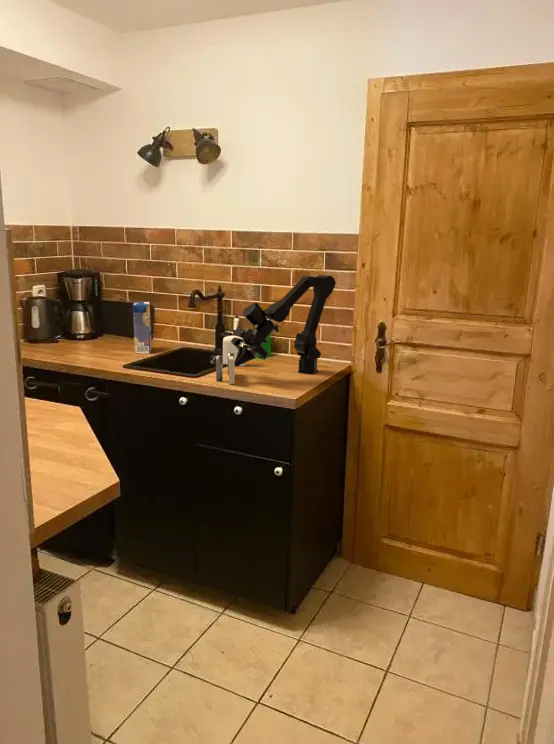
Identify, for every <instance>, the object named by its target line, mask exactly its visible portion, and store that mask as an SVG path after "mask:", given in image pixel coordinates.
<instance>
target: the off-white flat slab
mask: <svg viewBox="0 0 554 744" xmlns="http://www.w3.org/2000/svg"><path fill="white" fill-rule="evenodd" d="M235 367H236V366H235V359H234V358H233V356H229V375H228V384H229V385H235V382H236V380H235V379H236V378H235V377H236V376H235V373H236V371H235Z"/></svg>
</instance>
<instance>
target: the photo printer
mask: <svg viewBox="0 0 554 744" xmlns="http://www.w3.org/2000/svg"><path fill="white" fill-rule="evenodd" d="M235 337H237V338H240V339H242V338H241V337H238V336H235V335H228V336H227V335H226V336H225V337H223V339H222V357H223V365H225V364H226V365H227V366H228V353H234V359H236V357H237V354H238V349H237V348H236V347H235V346H234V345H233V344H232V343H231V340H232V339H233V338H235ZM246 366H247V362H245V363H243V364H241V365H239V366H238V367H246Z"/></svg>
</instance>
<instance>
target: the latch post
mask: <svg viewBox="0 0 554 744" xmlns="http://www.w3.org/2000/svg"><path fill="white" fill-rule="evenodd" d="M223 365H224V364H223V355H215V368H216V369H215V380H216V382H223V381H224V379H223V377H224V375H223V374H224V373H223Z"/></svg>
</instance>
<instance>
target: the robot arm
mask: <svg viewBox="0 0 554 744" xmlns="http://www.w3.org/2000/svg"><path fill="white" fill-rule="evenodd" d="M336 283H337V282H336V279H335V278H334V276H332V275H328V274H318V275H317V276H311V275H302V276H301V277H300V280H298V281H297V282H296V283H295V285H294V286H293V287H292V288H291V289H290V290H289V291H288V292H287V293H285V295H284V296H283V297H281V299H280V300H277V301H275V302H274V303H272V304H271V305H270V306H267V308H265V309H263V308H262V307H261V306H260V304H259V303H257V302H255V301H254V302H253V303H252V304H250V305H248V306H247V307H245V308H244V309H243V311H242V316H243V317H244V318H245V319H246V320H247V321H248V323H250V325H252V326H255V327H254V329H252V328H249V327H247V328H245V329H243V328H240V327H236V329H235V331H234V334H233V336H238V337H241V338H242V339H240V338H237V337H235V338H233V339H232V340H231V343H232V344H233V345H234V346H235V347H236V348H237V349H238V354H237V357H236V359H235V367H237V368H238V367H240V366H239V365H241V364H243V363H245V362H246V363H247V362H250V361H251V360H254V359H255V360H256V358H257V357H256V356H257V355H259V358H260V359H261V360H264V361H265V360H266V359H267V358H268V356H269V355H268V352H267V350H266V349H265V348H264V347H263V346H262V344H266V343H267V342H268V341H267V339H268V337H269V336H270V335H271V334H272V332H275V333H279V325H278V324H276V323H283V322H284V321H285V320H286V319H287V318H288V316H289V314H290V312H291V309H292V307H293V306H295V304H296V303H297V302H298V301H299V300H300V299H301V298H302V297H303V296H304V294H306V292H308V291H309V289H310V288H311V287H312V290H313V299H312V302H311V305H310V308H309V312H308V315H307V318H306V321H305V325H304V328H303V330H302V331H301V332H296V336H295V340H294V342H293V343H294V345H293V346H294V349H295V351H296V353H297V356H299V359H298V371H297V373H300V374H308V375H309V374H310V375H314V374H316V373H318V372H319V369H318V359H320V357H321V354H322V352H321V351H320V350H319V349H318V348H317V343H318V342H317V334H316V333H317V330H318V327H319V325H320V320H321V317H322V314H323V311H324V308H325V304H326V301H327V299H328V298H329V297H330V296H331V294H332V293H333V291H334V289H335V287H336ZM274 322H276V323H274Z"/></svg>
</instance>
